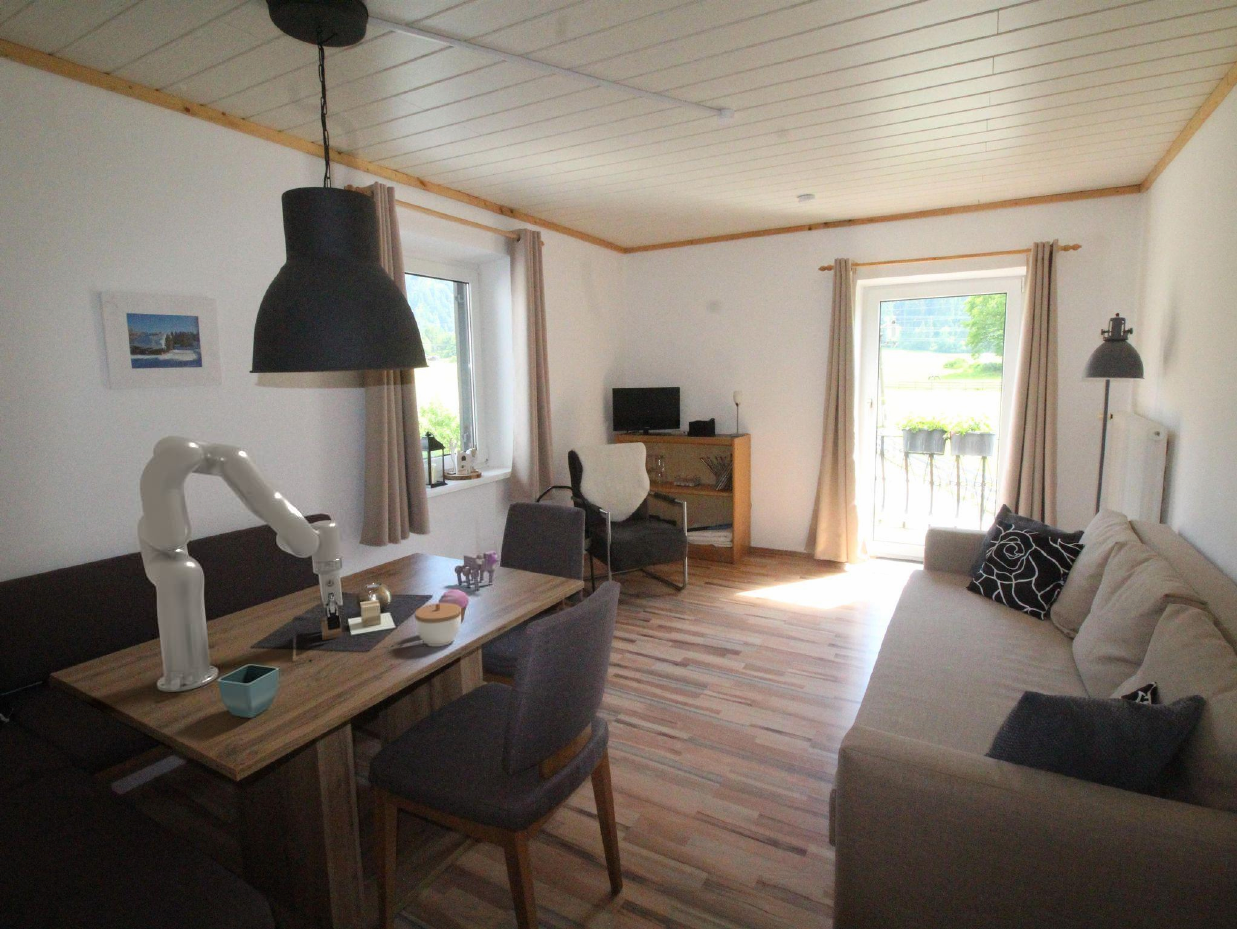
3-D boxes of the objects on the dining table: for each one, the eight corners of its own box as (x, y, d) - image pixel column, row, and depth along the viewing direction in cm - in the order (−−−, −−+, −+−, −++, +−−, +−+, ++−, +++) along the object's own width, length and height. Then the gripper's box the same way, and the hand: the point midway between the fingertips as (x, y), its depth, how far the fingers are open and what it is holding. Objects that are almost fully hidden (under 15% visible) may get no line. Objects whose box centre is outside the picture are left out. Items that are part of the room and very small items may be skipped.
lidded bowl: (437, 630, 192) (435, 594, 190) (472, 637, 186) (470, 599, 185) (406, 646, 181) (404, 607, 179) (441, 653, 175) (439, 614, 174)
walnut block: (342, 641, 185) (340, 620, 184) (322, 644, 183) (321, 623, 182) (341, 635, 189) (339, 615, 189) (322, 638, 187) (320, 618, 186)
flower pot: (252, 700, 151) (248, 663, 150) (283, 705, 148) (280, 667, 147) (219, 719, 142) (215, 679, 141) (251, 724, 140) (247, 684, 139)
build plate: (395, 631, 192) (395, 627, 192) (351, 638, 186) (351, 634, 186) (389, 616, 204) (389, 612, 204) (348, 622, 199) (347, 619, 199)
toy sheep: (512, 587, 231) (510, 550, 229) (489, 597, 223) (486, 558, 221) (476, 577, 243) (473, 542, 241) (452, 586, 235) (449, 549, 233)
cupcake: (453, 615, 204) (451, 584, 203) (475, 619, 200) (474, 587, 199) (433, 625, 196) (431, 593, 195) (456, 629, 192) (455, 596, 191)
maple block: (381, 624, 194) (379, 604, 193) (363, 627, 192) (361, 607, 191) (379, 618, 198) (378, 599, 198) (361, 621, 196) (360, 602, 196)
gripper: (344, 570, 177) (349, 630, 180) (340, 555, 193) (345, 611, 195) (313, 575, 174) (320, 636, 177) (312, 559, 190) (318, 615, 192)
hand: (333, 623), depth 186 cm, fingers open, 9 cm apart
